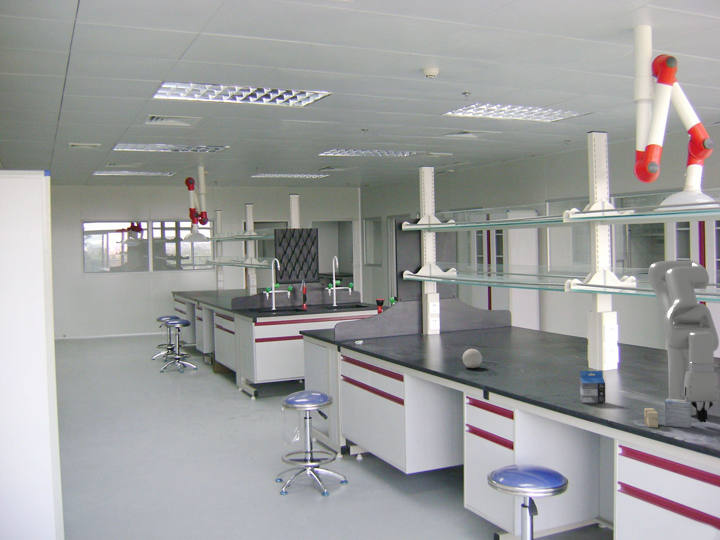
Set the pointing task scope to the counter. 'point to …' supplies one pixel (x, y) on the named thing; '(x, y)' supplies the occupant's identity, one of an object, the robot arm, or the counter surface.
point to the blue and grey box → (592, 387)
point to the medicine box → (677, 413)
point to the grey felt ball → (472, 358)
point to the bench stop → (650, 417)
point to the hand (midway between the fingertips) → (701, 421)
